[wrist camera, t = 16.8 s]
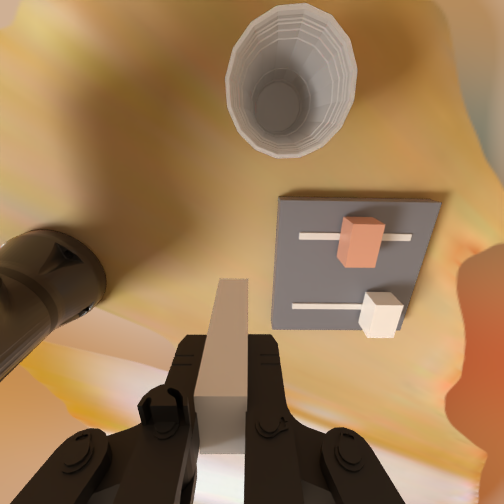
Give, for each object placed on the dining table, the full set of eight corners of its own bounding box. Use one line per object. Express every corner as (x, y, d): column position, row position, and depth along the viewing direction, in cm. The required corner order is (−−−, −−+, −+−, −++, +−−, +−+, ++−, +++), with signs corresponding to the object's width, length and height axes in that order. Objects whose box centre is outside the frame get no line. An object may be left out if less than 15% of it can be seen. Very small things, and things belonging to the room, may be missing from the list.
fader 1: (336, 256, 36) (345, 267, 33) (343, 216, 34) (353, 224, 30) (363, 256, 36) (374, 267, 33) (372, 217, 34) (385, 224, 30)
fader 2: (358, 322, 41) (367, 337, 38) (365, 291, 38) (376, 305, 35) (382, 322, 41) (393, 337, 38) (390, 292, 38) (403, 305, 35)
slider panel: (270, 319, 44) (272, 330, 42) (278, 196, 35) (280, 200, 33) (392, 320, 44) (401, 331, 42) (429, 199, 36) (443, 203, 33)
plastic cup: (222, 69, 29) (206, 24, 18) (312, 43, 28) (352, -21, 17) (244, 163, 34) (242, 172, 22) (323, 143, 33) (361, 142, 22)
